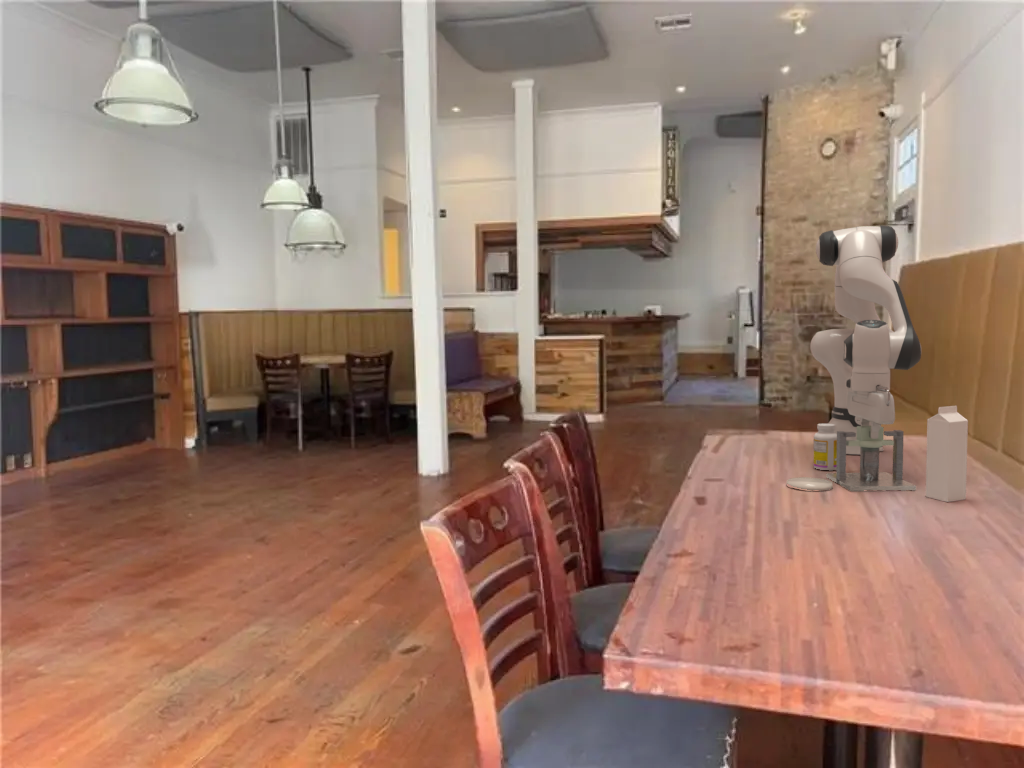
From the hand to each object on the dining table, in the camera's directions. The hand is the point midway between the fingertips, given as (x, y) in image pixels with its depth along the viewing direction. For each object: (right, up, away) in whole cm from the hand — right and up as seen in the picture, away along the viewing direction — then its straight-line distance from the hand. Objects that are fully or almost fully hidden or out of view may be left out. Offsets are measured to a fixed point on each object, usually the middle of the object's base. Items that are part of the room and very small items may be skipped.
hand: (869, 436), depth 193 cm
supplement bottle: (-3, -11, +20) cm, 23 cm away
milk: (+11, -14, -15) cm, 23 cm away
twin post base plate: (0, -12, +1) cm, 12 cm away
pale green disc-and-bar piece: (0, -2, 0) cm, 2 cm away
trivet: (-16, -13, 0) cm, 20 cm away
